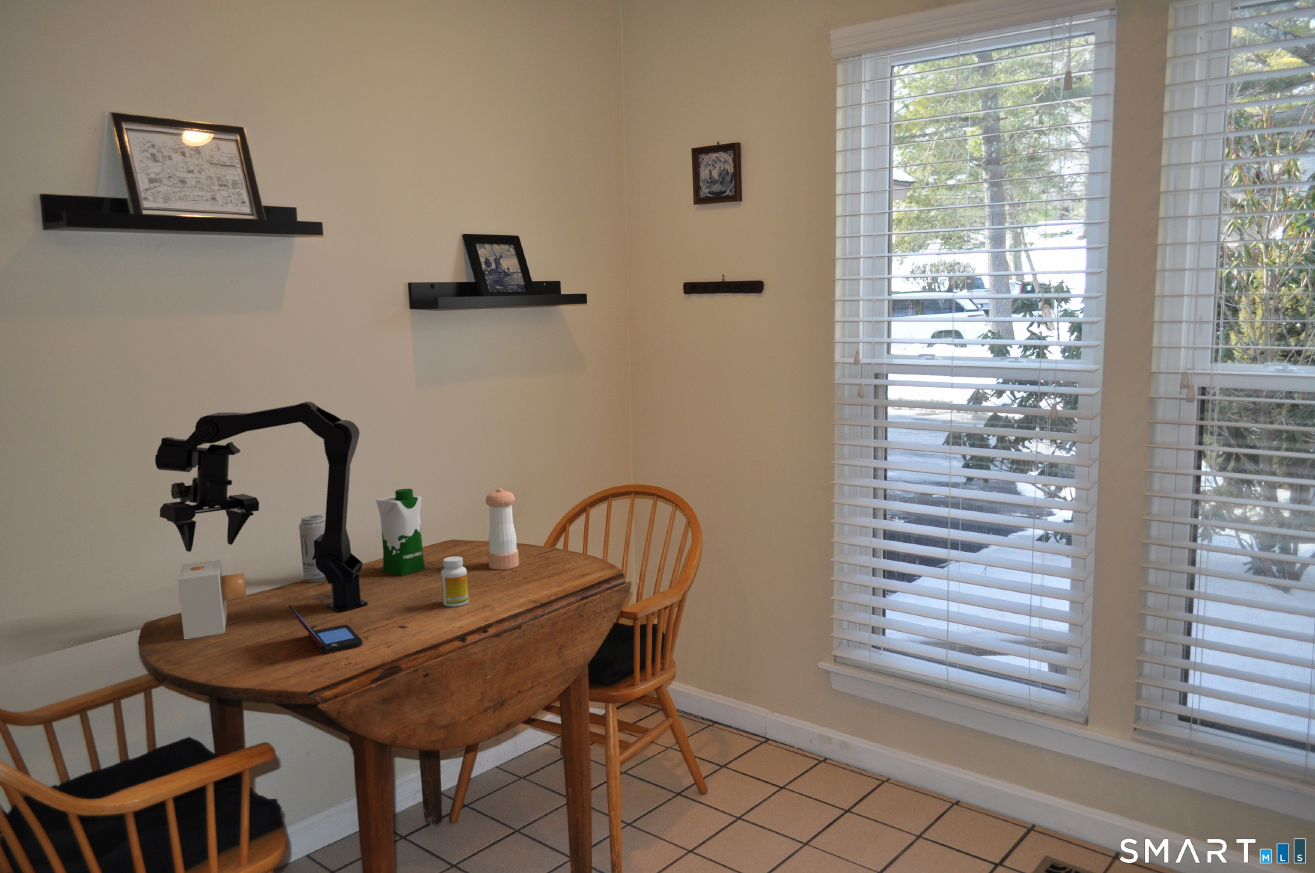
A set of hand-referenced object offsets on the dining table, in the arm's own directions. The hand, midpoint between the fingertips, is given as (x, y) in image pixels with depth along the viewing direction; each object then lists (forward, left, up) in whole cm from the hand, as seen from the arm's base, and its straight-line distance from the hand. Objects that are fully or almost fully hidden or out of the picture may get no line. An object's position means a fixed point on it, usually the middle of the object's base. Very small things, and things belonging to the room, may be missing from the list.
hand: (209, 547), depth 185 cm
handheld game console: (-35, -7, -15) cm, 39 cm away
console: (-7, +4, -14) cm, 17 cm away
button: (-9, -1, -9) cm, 13 cm away
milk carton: (-2, -43, -15) cm, 45 cm away
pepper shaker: (-18, -61, -15) cm, 65 cm away
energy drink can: (+8, -26, -15) cm, 30 cm away
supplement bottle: (-34, -37, -15) cm, 52 cm away
